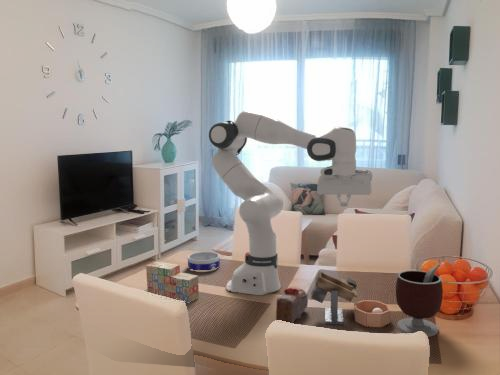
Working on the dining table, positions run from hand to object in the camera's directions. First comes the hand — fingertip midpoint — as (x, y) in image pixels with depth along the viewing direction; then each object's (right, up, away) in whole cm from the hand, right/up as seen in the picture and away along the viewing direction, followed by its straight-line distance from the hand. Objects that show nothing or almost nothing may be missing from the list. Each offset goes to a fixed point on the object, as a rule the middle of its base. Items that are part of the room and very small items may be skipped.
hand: (343, 206), depth 161 cm
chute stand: (-7, -38, -17) cm, 42 cm away
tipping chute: (-8, -32, -11) cm, 35 cm away
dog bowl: (-58, -32, +41) cm, 78 cm away
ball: (+7, -35, -19) cm, 41 cm away
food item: (-21, -38, -14) cm, 46 cm away
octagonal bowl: (+5, -38, -19) cm, 42 cm away
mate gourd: (+19, -38, -25) cm, 50 cm away
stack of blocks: (-66, -36, +6) cm, 76 cm away
